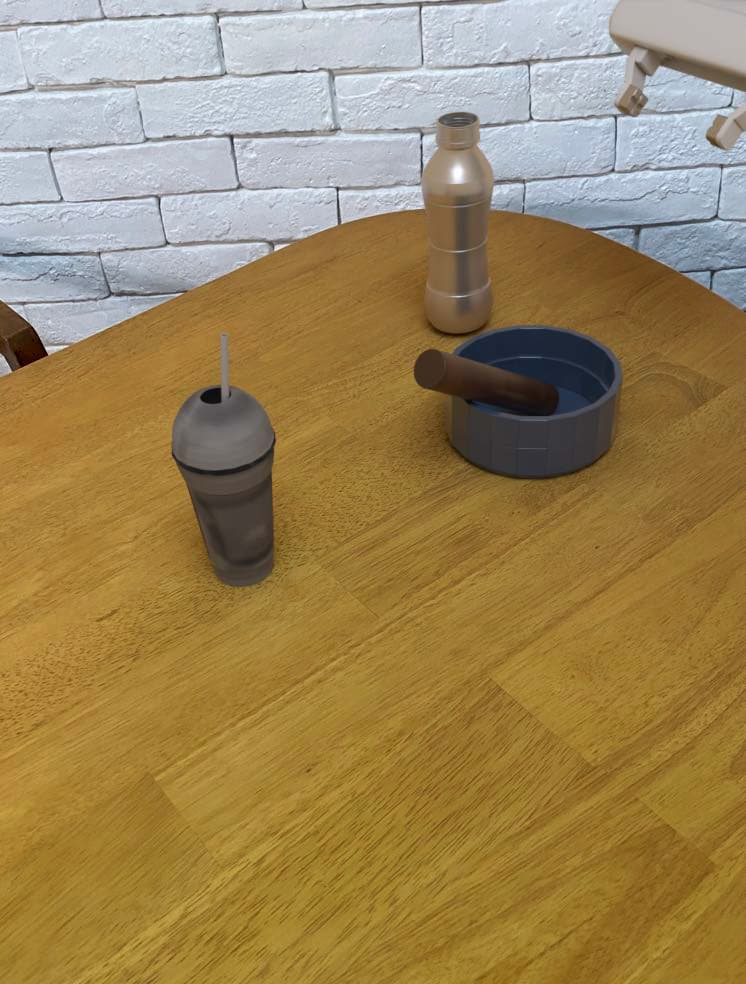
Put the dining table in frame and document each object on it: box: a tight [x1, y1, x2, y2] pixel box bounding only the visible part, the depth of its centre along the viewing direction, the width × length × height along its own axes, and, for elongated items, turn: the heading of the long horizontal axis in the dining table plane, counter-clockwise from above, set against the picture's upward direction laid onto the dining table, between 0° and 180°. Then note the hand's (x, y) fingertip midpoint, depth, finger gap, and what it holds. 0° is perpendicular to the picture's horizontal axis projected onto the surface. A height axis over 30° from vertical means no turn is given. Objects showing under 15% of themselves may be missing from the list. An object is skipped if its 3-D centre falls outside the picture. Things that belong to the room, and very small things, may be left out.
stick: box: [413, 348, 559, 416], centre depth 90 cm, size 3×3×16 cm
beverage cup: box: [171, 332, 277, 587], centre depth 79 cm, size 7×7×20 cm
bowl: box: [444, 324, 624, 480], centre depth 94 cm, size 14×14×6 cm
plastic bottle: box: [420, 111, 495, 334], centre depth 103 cm, size 6×7×20 cm
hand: (668, 127), depth 86 cm, fingers open, 8 cm apart
